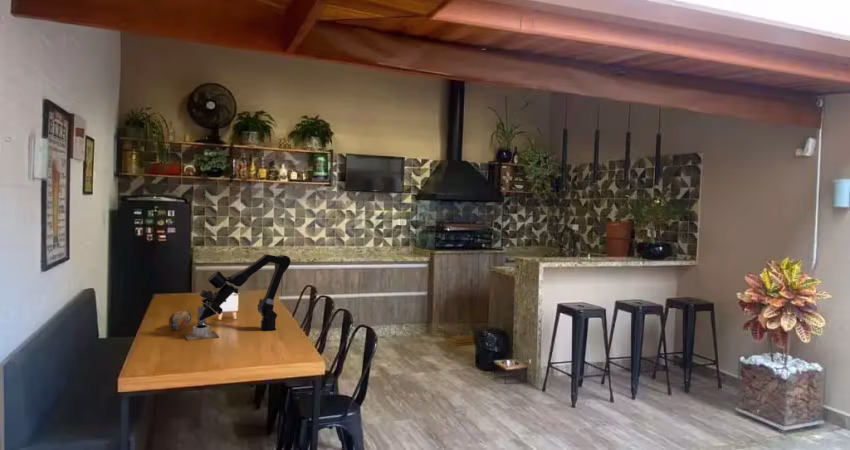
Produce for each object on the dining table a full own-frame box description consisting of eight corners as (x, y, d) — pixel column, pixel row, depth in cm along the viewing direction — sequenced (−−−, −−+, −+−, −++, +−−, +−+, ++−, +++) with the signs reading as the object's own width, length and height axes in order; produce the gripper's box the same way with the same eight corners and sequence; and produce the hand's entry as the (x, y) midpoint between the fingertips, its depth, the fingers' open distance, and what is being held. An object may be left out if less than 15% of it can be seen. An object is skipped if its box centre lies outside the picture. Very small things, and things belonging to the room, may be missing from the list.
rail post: (206, 331, 269) (207, 306, 268) (203, 333, 265) (204, 307, 265) (199, 331, 269) (199, 306, 268) (196, 333, 265) (196, 307, 265)
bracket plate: (214, 332, 276) (214, 330, 276) (218, 337, 265) (218, 336, 265) (183, 335, 269) (183, 333, 269) (187, 340, 258) (187, 338, 258)
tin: (172, 331, 276) (173, 314, 276) (167, 330, 276) (167, 314, 276) (191, 325, 291) (191, 309, 290) (186, 324, 291) (186, 308, 291)
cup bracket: (208, 332, 272) (208, 324, 272) (210, 335, 266) (210, 327, 266) (191, 333, 268) (192, 325, 268) (194, 337, 262) (194, 328, 262)
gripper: (205, 281, 276) (181, 305, 270) (215, 286, 261) (190, 311, 255) (221, 295, 281) (198, 319, 275) (232, 301, 266) (208, 326, 260)
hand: (198, 319), depth 266 cm, fingers closed on rail post, 4 cm apart
